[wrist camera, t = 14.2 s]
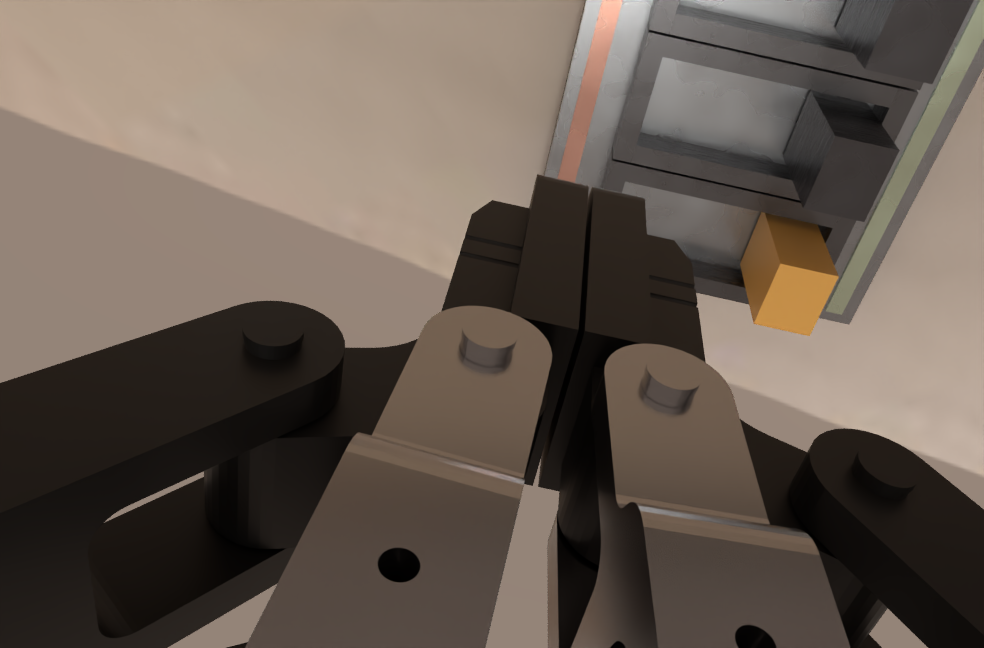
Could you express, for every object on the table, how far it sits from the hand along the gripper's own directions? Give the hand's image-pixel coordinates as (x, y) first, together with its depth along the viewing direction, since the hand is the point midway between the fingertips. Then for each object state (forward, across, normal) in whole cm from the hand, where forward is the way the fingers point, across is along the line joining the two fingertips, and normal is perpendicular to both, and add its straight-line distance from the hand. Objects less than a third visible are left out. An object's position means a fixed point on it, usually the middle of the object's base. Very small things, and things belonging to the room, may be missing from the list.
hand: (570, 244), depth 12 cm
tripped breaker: (+26, -11, +11) cm, 30 cm away
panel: (+27, -8, +6) cm, 29 cm away
